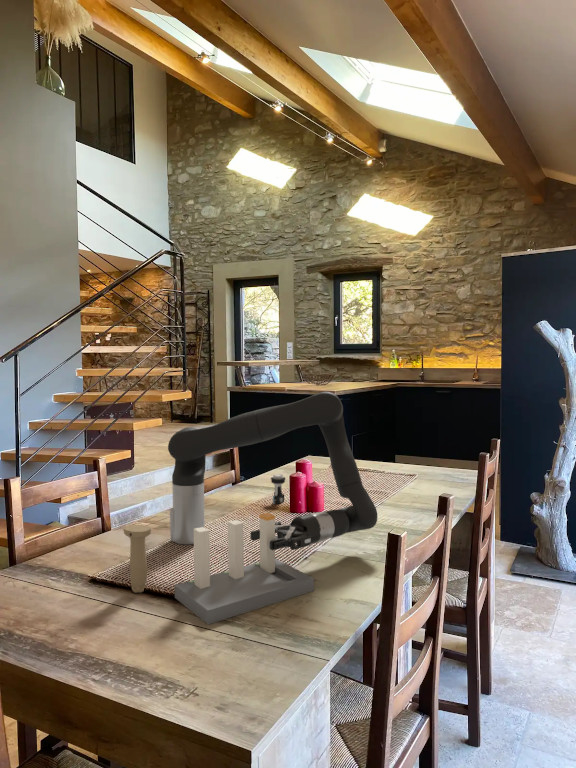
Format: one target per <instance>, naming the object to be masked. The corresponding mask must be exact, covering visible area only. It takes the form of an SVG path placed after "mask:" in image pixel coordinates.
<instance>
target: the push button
mask: <svg viewBox="0 0 576 768" xmlns="http://www.w3.org/2000/svg"><path fill="white" fill-rule="evenodd" d="M270 481H271V483H272V484H273V485H274V491H273V496H272V500H271V502H272V503H271V504H272V505H273V504H274V505H275V504H276V505H278V504H281V503H284V502H285V494H284V493H283V492H282V491H283V489H282V487H283V486H282V485H283V484H285V482H286V477H285V476H284V475H283V474H281V473H280V474H279V473H277V474H273V475H272V477H270Z"/></svg>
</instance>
